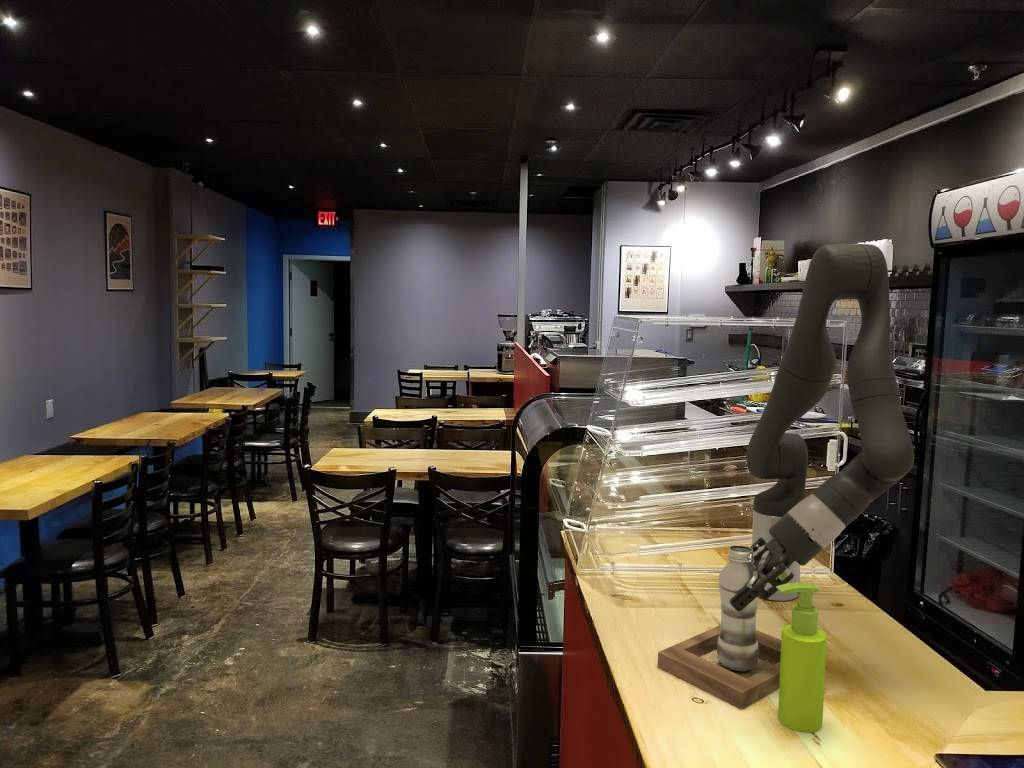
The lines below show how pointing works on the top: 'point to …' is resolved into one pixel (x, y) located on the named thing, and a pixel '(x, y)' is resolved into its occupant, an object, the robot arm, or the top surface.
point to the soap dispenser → (802, 663)
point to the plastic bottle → (737, 613)
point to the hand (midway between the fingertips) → (729, 597)
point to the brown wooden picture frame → (717, 679)
